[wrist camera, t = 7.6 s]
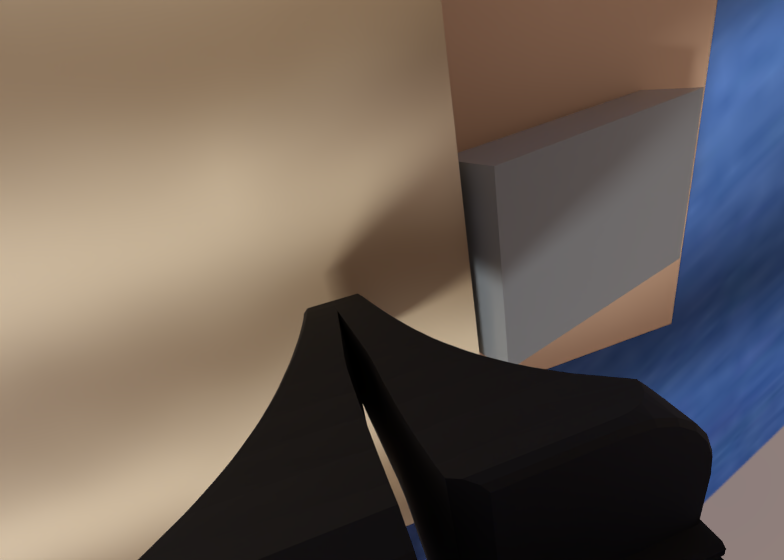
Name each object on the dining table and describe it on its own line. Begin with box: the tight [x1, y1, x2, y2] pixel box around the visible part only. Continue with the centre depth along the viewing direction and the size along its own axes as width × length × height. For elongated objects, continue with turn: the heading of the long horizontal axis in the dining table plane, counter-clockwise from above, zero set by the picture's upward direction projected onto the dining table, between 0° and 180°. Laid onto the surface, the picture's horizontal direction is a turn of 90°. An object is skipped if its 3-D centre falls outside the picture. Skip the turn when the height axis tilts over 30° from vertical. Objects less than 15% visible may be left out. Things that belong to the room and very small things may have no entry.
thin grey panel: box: [458, 87, 704, 364], centre depth 14 cm, size 6×9×2 cm, turn 100°
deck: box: [0, 0, 479, 560], centre depth 12 cm, size 18×14×4 cm
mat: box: [441, 0, 717, 369], centre depth 16 cm, size 16×11×1 cm
